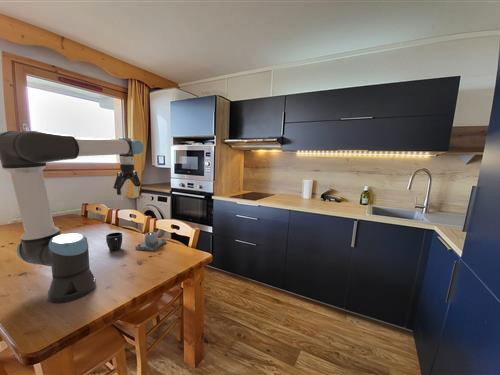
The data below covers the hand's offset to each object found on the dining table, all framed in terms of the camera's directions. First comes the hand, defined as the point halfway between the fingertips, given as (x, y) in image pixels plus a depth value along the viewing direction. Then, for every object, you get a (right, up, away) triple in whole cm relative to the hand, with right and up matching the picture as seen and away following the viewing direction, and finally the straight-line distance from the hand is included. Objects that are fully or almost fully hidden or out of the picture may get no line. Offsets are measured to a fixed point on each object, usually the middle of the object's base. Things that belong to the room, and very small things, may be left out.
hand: (128, 198), depth 129 cm
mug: (-5, -32, -4) cm, 32 cm away
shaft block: (+12, -31, +4) cm, 33 cm away
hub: (+12, -29, +4) cm, 32 cm away
